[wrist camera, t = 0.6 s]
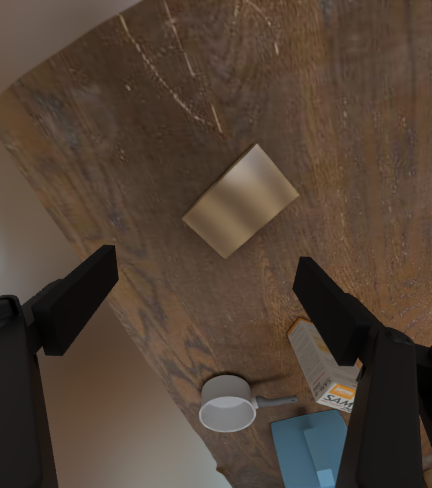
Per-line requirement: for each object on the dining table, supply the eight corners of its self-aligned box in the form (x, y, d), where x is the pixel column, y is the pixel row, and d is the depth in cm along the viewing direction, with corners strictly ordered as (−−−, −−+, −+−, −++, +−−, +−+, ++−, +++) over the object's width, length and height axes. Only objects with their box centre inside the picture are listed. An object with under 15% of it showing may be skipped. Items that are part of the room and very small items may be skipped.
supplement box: (285, 333, 43) (313, 403, 31) (298, 316, 42) (334, 382, 30) (319, 346, 45) (359, 418, 33) (333, 330, 43) (381, 398, 31)
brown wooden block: (253, 144, 30) (257, 143, 27) (292, 191, 33) (299, 194, 30) (184, 213, 34) (181, 219, 31) (224, 251, 36) (225, 259, 34)
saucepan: (293, 389, 50) (302, 417, 45) (209, 408, 52) (209, 437, 47) (283, 355, 46) (292, 380, 40) (192, 377, 48) (190, 404, 42)
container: (336, 396, 51) (384, 490, 37) (345, 452, 60) (387, 545, 46) (264, 411, 53) (284, 507, 38) (284, 464, 62) (306, 557, 48)
